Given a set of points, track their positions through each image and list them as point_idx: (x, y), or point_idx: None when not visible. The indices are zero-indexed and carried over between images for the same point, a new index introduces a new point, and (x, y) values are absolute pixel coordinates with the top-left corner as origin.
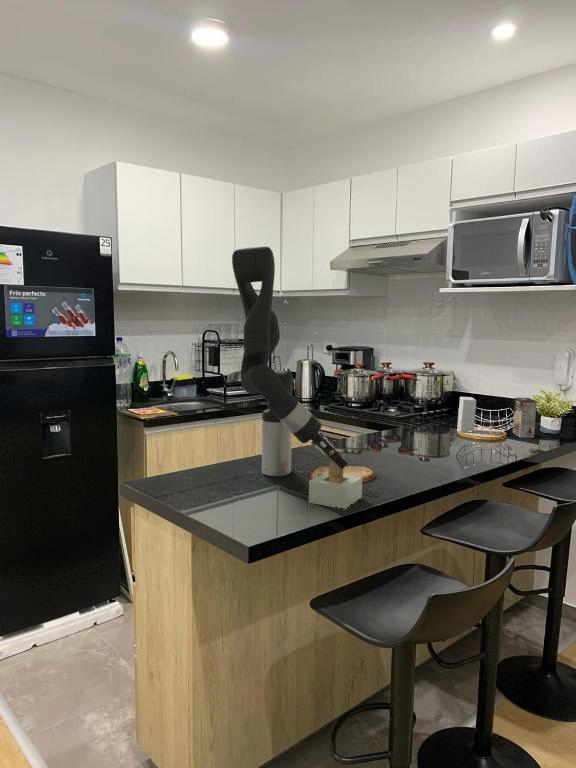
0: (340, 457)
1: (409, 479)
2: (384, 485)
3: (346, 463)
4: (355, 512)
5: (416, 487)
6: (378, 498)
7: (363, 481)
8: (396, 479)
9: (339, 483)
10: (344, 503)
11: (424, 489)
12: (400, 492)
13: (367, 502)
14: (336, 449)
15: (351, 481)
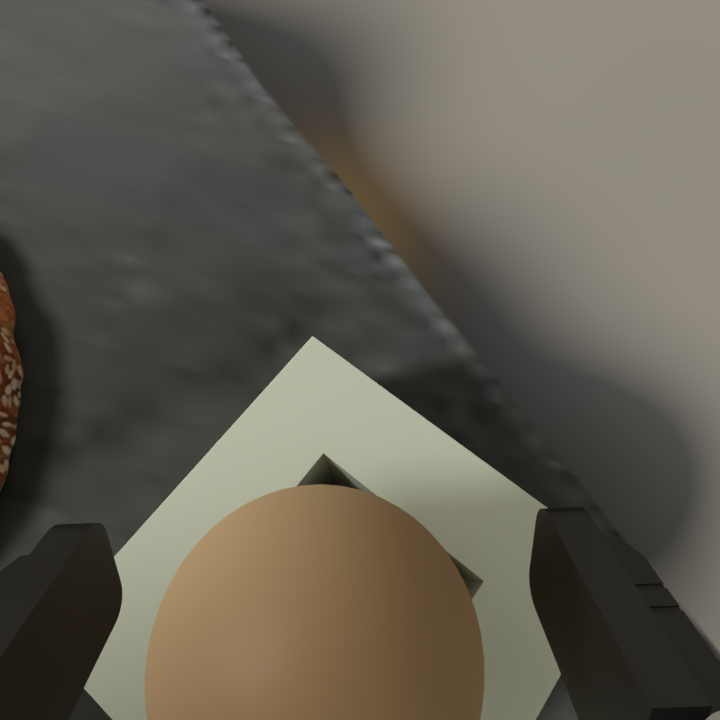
0: (662, 645)
1: (50, 67)
2: (110, 203)
3: (585, 520)
4: (599, 508)
5: (189, 76)
6: (338, 298)
7: (3, 294)
8: (26, 119)
9: (489, 601)
10: None
11: (229, 56)
12: (253, 164)
13: (406, 380)
14: (185, 621)
15: (426, 461)
